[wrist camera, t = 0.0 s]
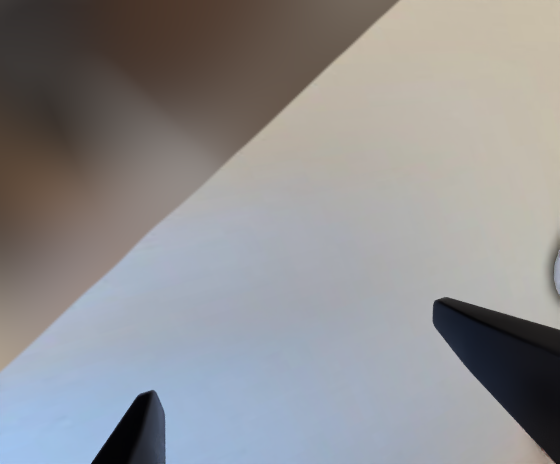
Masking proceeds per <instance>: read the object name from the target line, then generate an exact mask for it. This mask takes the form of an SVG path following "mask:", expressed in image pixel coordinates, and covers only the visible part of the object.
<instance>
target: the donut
mask: <svg viewBox="0 0 560 464" xmlns="http://www.w3.org/2000/svg"><path fill="white" fill-rule="evenodd" d="M554 280H555V285H556V289H557V291H558V293H559V295H560V250H559V252H558V255H557V258H556V261H555V267H554Z"/></svg>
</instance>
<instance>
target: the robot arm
mask: <svg viewBox="0 0 560 464" xmlns="http://www.w3.org/2000/svg"><path fill="white" fill-rule="evenodd" d="M433 324H434V326H435V328H436V329H437V330H438V332H439V333H440V334H441V335H442V337H443V338H444V339H445V341H446V342H447V343H448V344H449V346H450V347H451V348H452V350H453V351H454V352H455V353H456V355H457V356H458V357H459V359H460V360H461V361H462V362H463V364H464V365H465V366H466V367H467V368H468V369H469V371H470V372H471V373H472V374H473V375H474V376H475V377H476V378H477V379H478V380H479V381H480V383H481V384H482V385H483V386H484V387H485V388H486V389H487V390H488V391H489V392H490V393H491V394H492V395H493V397H494V398H495V399H496V400H497V401H498V402H499V403H500V404H501V405H502V406H503V407H504V408H505V409H506V411H507V412H508V413H509V414H510V415H511V416H512V417H513V418H514V419H515V420H516V421H517V422H518V423H519V425H520V426H521V427H522V428H523V429H524V430H525V431H526V432H527V433H528V434H529V435H530V436H531V437H532V439H533V440H534V441H535V442H536V443H537V444H538V445H539V446H540V447H541V448H542V449H543V450H544V451H545V452H546V454H547V455H548V456H549V457H550V458H551V459H552V460H553V461H554V462H555V463H556V464H560V330H558V329H555V328H551V327H548V326H545V325H541V324H538V323H534V322H531V321H527V320H524V319H520V318H517V317H514V316H510V315H507V314H503V313H500V312H496V311H493V310H489V309H486V308H483V307H479V306H476V305H472V304H469V303H465V302H462V301H458V300H455V299H452V298H448V297H444V298H441V299H438V300H435V302H434V304H433ZM91 464H165V414H164V409H163V407H162V405H161V402H160V400H159V398H158V395H157V393H156V392H155V391H154V390H151V391H148V392H144V393H141V394H139V395H138V396H137V397H136V399H135V400H134V402H133V403H132V405H131V406H130V408H129V409H128V410H127V412H126V413H125V415H124V416H123V418H122V419H121V421H120V422H119V424H118V425H117V427H116V428H115V429H114V431H113V432H112V434H111V435H110V437H109V438H108V440H107V441H106V443H105V444H104V445H103V447H102V448H101V450H100V451H99V453H98V454H97V456H96V457H95V459H94V460H93V462H92V463H91Z"/></svg>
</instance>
